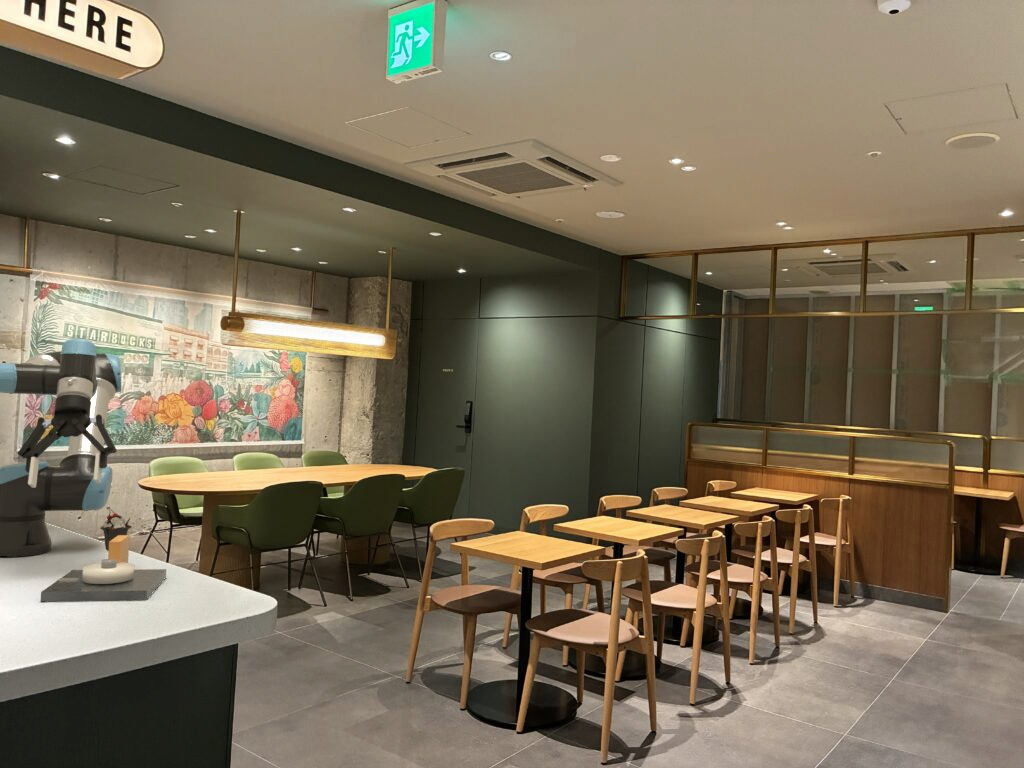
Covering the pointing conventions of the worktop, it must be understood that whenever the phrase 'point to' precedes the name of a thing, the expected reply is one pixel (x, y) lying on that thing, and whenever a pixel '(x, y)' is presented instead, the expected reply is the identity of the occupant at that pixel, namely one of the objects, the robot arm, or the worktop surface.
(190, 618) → the worktop surface
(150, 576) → the panel
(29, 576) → the worktop surface
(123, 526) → the sundae
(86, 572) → the dial
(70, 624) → the worktop surface
